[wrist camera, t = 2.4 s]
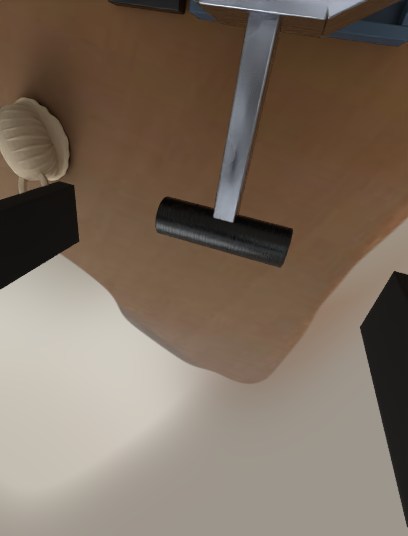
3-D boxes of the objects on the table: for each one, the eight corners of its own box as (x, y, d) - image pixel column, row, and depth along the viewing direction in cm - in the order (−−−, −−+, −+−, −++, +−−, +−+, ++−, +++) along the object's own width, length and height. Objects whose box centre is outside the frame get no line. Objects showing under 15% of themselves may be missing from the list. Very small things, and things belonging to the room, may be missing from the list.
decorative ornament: (49, 90, 24) (-9, 88, 19) (87, 190, 28) (45, 207, 23) (15, 101, 25) (-47, 102, 21) (55, 195, 29) (10, 212, 25)
